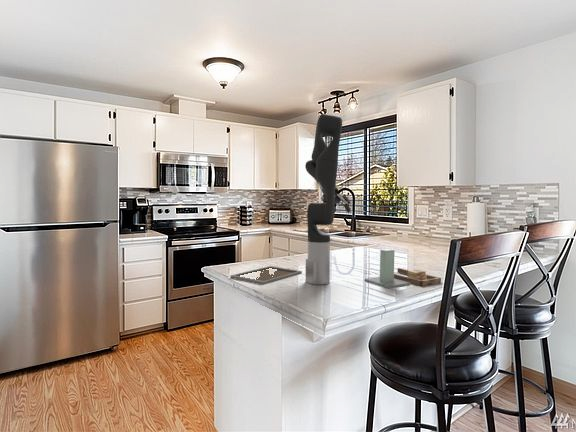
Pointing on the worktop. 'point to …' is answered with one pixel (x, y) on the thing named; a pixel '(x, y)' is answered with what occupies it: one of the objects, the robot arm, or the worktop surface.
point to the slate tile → (387, 284)
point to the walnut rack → (429, 280)
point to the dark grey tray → (268, 275)
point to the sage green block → (386, 265)
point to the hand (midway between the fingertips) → (342, 211)
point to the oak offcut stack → (417, 274)
